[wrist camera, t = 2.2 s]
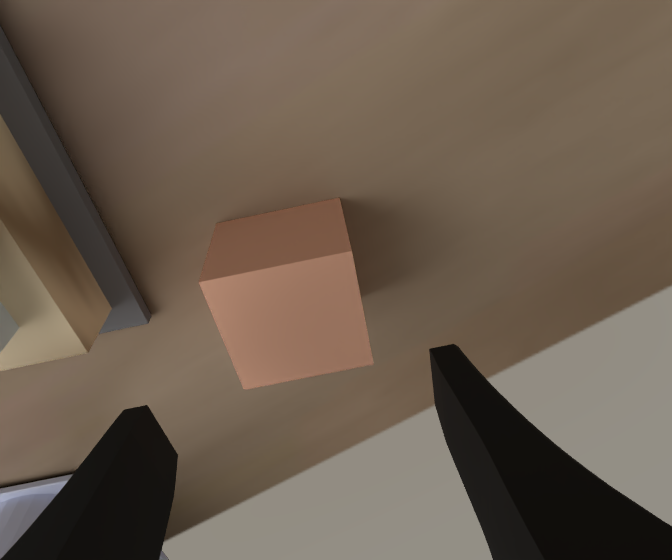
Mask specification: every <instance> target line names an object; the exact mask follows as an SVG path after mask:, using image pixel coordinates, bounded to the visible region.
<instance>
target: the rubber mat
mask: <svg viewBox="0 0 672 560" xmlns="http://www.w3.org/2000/svg"><path fill="white" fill-rule="evenodd" d="M0 115H1V116H2V118H3V120H4V122H5V123H6V125H7V127H8V129H9V130H10V132H11V134H12V136H13V137H14V139H15V141H16V142H17V144H18V146H19V148H20V149H21V151H22V153H23V155H24V156H25V158H26V160H27V162H28V163H29V165H30V167H31V169H32V170H33V172H34V174H35V176H36V177H37V179H38V181H39V182H40V184H41V186H42V188H43V189H44V191H45V193H46V195H47V196H48V198H49V200H50V202H51V203H52V205H53V207H54V209H55V210H56V212H57V214H58V216H59V217H60V219H61V221H62V222H63V224H64V226H65V228H66V229H67V231H68V233H69V235H70V236H71V238H72V240H73V242H74V243H75V245H76V247H77V249H78V250H79V252H80V254H81V256H82V257H83V259H84V261H85V262H86V264H87V266H88V268H89V269H90V271H91V273H92V275H93V276H94V278H95V280H96V282H97V283H98V285H99V287H100V289H101V290H102V292H103V294H104V296H105V297H106V299H107V301H108V302H109V304H110V306H111V308H112V309H111V311H110V313H109V315H108V317H107V319H106V321H105V322H104V324H103V326H102V328H101V330H100V332H99V334H100V333H105V332H110V331H114V330H119V329H124V328H129V327H134V326H138V325H143V324H148V323H149V321H150V318H151V314H150V312H149V310H148V308H147V306H146V304H145V302H144V300H143V298H142V297H141V295H140V293H139V291H138V289H137V287H136V285H135V283H134V281H133V279H132V277H131V275H130V274H129V272H128V270H127V268H126V266H125V264H124V262H123V260H122V258H121V256H120V254H119V252H118V250H117V249H116V247H115V245H114V243H113V241H112V239H111V237H110V235H109V233H108V231H107V229H106V227H105V226H104V224H103V222H102V220H101V218H100V216H99V214H98V212H97V210H96V208H95V206H94V204H93V203H92V201H91V199H90V197H89V195H88V193H87V191H86V189H85V187H84V185H83V183H82V181H81V179H80V178H79V176H78V174H77V172H76V170H75V168H74V166H73V164H72V162H71V160H70V158H69V156H68V155H67V153H66V151H65V149H64V147H63V145H62V143H61V141H60V139H59V137H58V135H57V133H56V132H55V130H54V128H53V126H52V124H51V122H50V120H49V118H48V116H47V114H46V112H45V110H44V108H43V107H42V105H41V103H40V101H39V99H38V97H37V95H36V93H35V91H34V89H33V87H32V85H31V84H30V82H29V80H28V78H27V76H26V74H25V72H24V70H23V68H22V66H21V64H20V62H19V60H18V59H17V57H16V55H15V53H14V51H13V49H12V47H11V45H10V43H9V41H8V39H7V37H6V36H5V34H4V32H3V30H2V28H1V26H0Z"/></svg>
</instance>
